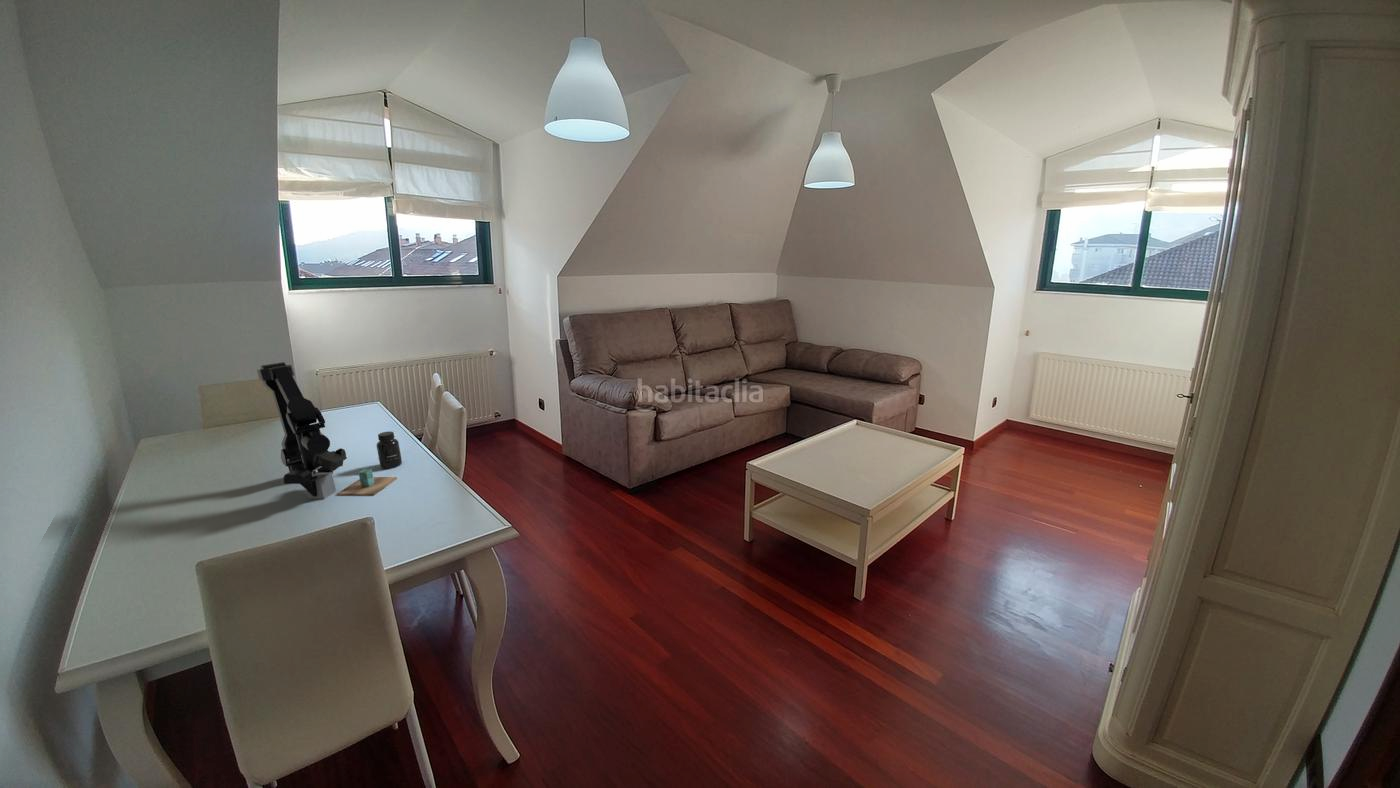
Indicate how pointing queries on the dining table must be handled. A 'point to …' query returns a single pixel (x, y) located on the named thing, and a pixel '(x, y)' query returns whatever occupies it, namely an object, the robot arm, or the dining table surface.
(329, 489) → the grey rectangular block
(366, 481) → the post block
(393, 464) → the supplement bottle
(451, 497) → the dining table surface
